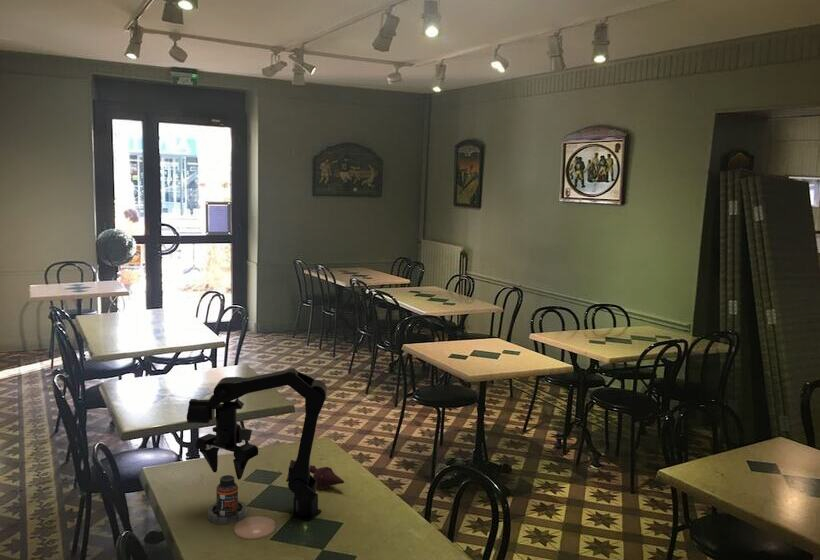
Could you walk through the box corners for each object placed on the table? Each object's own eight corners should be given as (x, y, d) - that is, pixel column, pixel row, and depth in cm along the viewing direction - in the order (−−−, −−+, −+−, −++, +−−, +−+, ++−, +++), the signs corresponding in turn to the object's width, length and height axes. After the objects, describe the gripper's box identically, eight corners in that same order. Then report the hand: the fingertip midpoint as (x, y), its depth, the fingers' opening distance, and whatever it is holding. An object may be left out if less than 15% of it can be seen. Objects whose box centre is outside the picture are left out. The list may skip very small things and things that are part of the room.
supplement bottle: (225, 522, 185) (224, 484, 184) (212, 515, 189) (211, 478, 187) (242, 514, 190) (242, 477, 188) (229, 508, 194) (228, 471, 192)
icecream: (352, 469, 207) (315, 462, 215) (337, 471, 201) (300, 463, 209) (350, 492, 207) (313, 483, 215) (335, 494, 200) (298, 486, 208)
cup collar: (253, 511, 192) (253, 505, 191) (228, 527, 182) (228, 520, 182) (226, 503, 196) (226, 496, 196) (200, 518, 187) (200, 511, 187)
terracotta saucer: (283, 525, 184) (283, 522, 184) (256, 543, 175) (256, 540, 175) (253, 515, 190) (253, 512, 189) (225, 532, 180) (225, 529, 180)
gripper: (270, 420, 188) (271, 472, 191) (222, 409, 197) (223, 458, 199) (244, 432, 179) (244, 487, 181) (193, 420, 187) (195, 472, 190)
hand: (227, 475), depth 188 cm, fingers open, 9 cm apart
